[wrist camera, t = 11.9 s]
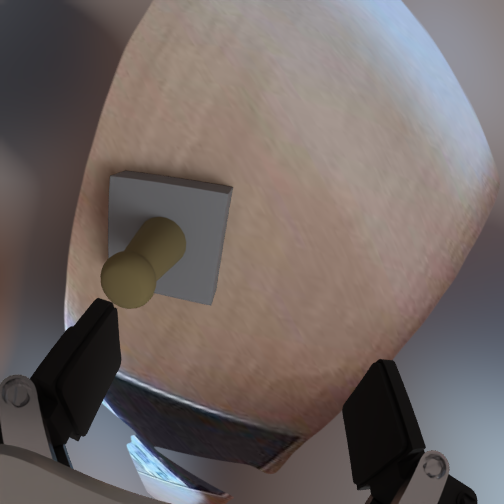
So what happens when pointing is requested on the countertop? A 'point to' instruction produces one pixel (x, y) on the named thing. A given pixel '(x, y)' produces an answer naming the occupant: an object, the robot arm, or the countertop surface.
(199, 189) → the base block
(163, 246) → the cork
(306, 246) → the countertop surface
